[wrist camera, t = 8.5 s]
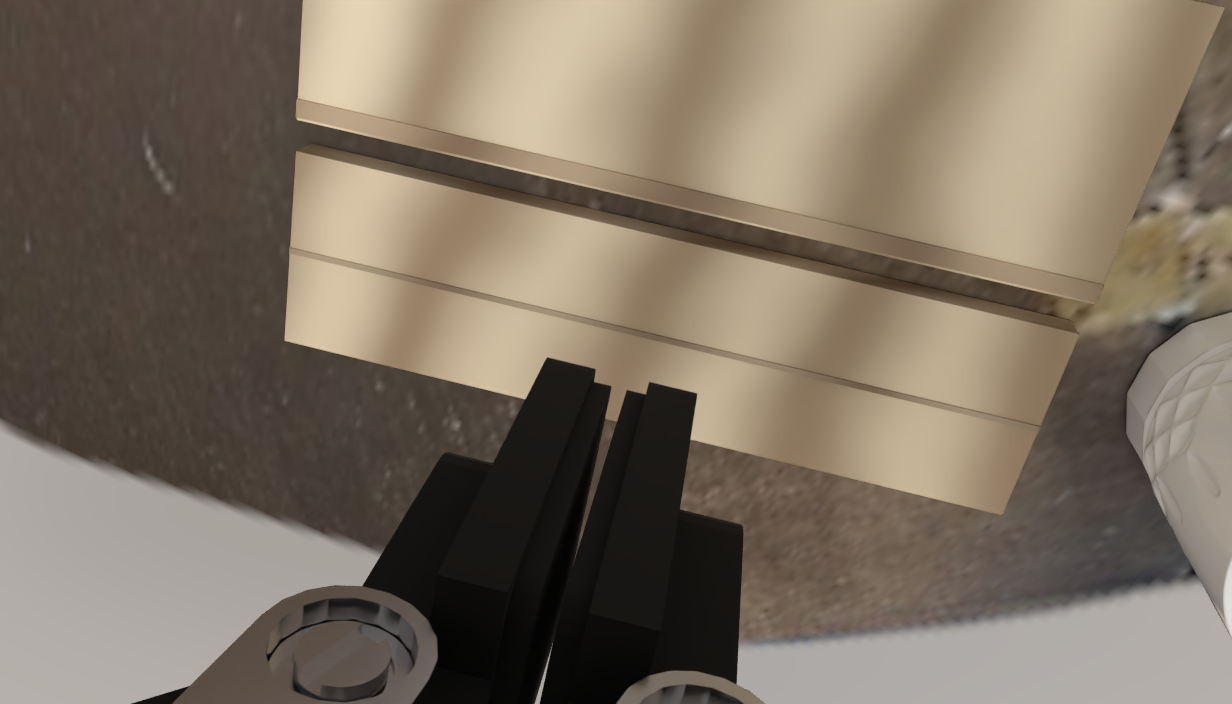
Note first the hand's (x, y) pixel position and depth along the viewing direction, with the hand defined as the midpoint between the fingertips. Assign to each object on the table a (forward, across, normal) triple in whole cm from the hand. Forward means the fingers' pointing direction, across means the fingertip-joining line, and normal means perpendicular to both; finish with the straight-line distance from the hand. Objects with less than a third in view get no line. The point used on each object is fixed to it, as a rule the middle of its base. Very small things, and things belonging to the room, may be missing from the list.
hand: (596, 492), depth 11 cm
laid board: (+23, 0, +8) cm, 24 cm away
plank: (+23, 0, -2) cm, 23 cm away
